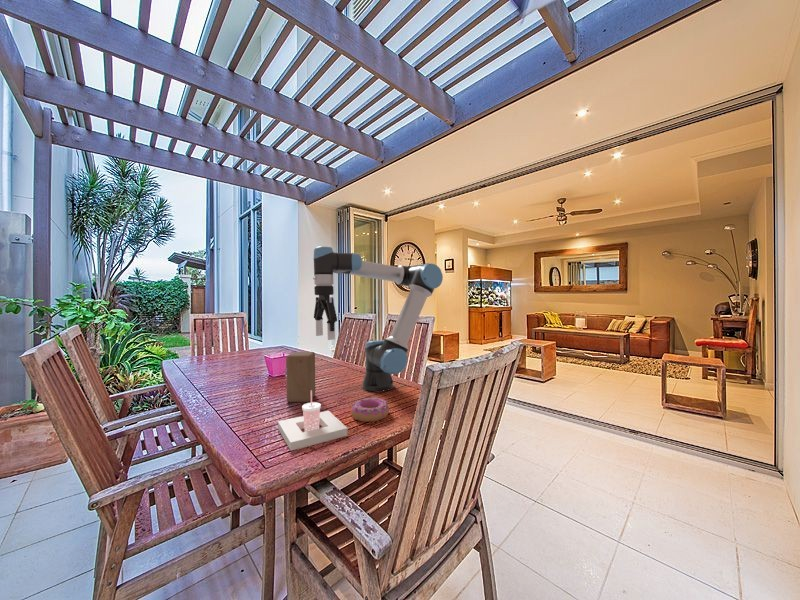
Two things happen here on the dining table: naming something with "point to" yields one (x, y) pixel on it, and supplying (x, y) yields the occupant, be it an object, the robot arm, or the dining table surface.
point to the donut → (370, 409)
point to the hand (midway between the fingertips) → (325, 337)
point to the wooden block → (300, 376)
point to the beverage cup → (311, 415)
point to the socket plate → (300, 440)
